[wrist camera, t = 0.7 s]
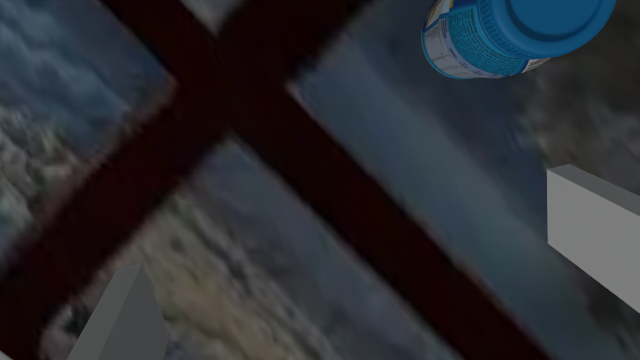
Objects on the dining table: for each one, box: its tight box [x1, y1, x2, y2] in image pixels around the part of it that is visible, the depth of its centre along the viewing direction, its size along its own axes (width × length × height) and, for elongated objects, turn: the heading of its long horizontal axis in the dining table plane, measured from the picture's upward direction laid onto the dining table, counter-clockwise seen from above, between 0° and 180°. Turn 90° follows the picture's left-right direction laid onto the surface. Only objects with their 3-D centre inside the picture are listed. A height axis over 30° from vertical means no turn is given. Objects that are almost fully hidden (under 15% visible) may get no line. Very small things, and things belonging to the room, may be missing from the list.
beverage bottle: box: [421, 0, 616, 79], centre depth 34 cm, size 8×8×20 cm
